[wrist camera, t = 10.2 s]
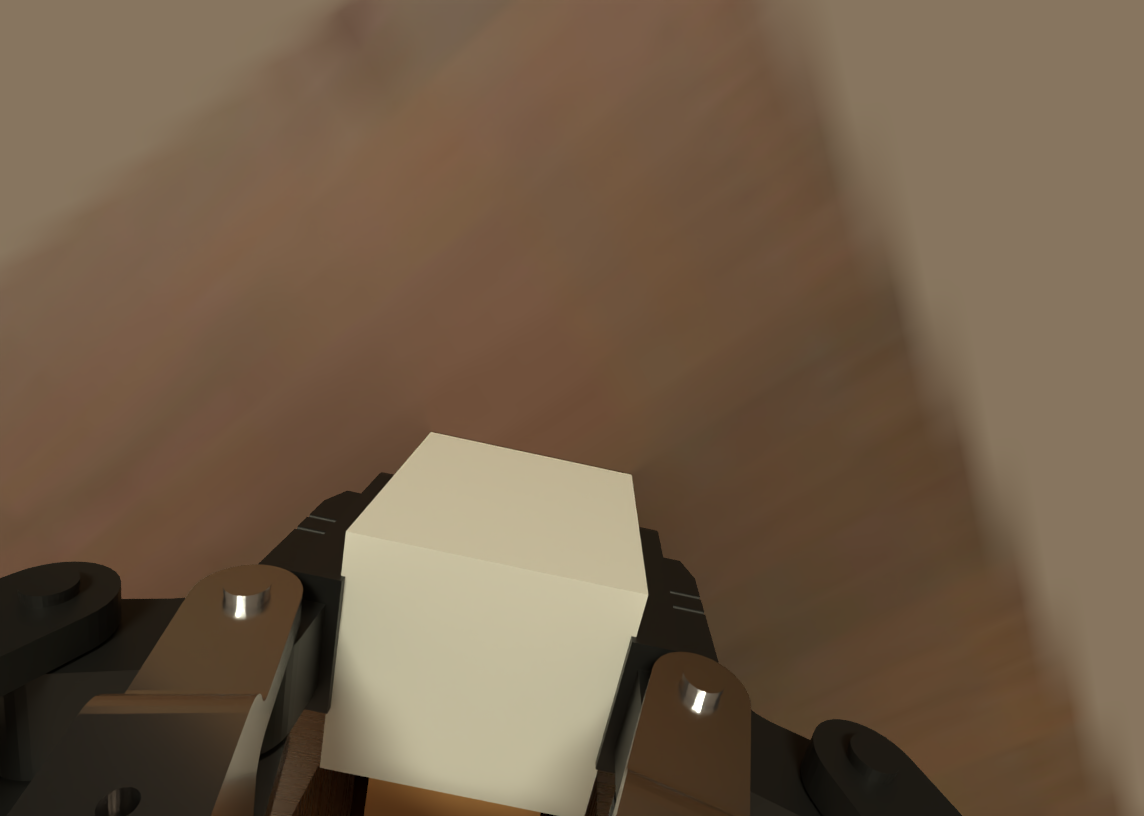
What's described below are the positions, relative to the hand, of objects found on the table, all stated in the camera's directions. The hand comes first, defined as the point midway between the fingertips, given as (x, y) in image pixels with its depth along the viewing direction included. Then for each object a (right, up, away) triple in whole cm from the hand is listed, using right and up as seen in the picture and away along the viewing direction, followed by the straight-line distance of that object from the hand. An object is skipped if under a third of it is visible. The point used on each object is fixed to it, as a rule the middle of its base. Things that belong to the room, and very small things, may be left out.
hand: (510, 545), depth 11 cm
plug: (-1, -5, +2) cm, 6 cm away
